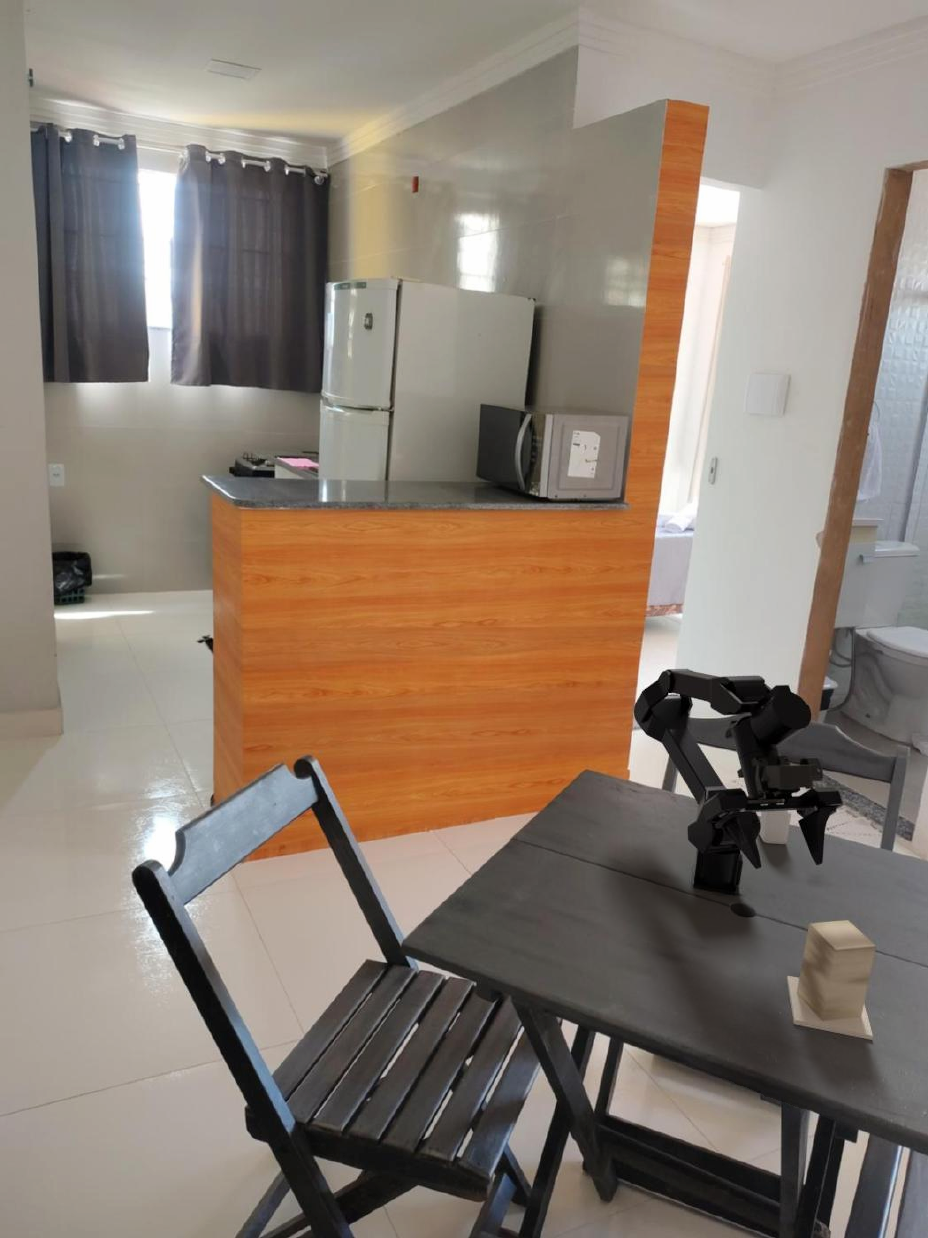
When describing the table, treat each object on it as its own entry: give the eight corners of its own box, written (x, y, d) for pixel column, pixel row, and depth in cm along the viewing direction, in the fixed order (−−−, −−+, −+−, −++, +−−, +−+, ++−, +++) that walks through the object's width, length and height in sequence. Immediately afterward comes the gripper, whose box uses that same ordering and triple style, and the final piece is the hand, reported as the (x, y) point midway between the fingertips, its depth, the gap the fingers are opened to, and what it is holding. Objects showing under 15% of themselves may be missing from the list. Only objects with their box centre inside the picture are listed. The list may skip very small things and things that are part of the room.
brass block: (796, 992, 119) (809, 923, 117) (834, 988, 120) (847, 920, 118) (822, 1021, 114) (835, 950, 111) (861, 1017, 115) (875, 946, 113)
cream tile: (793, 1024, 114) (794, 1019, 114) (787, 979, 123) (787, 975, 122) (872, 1040, 112) (872, 1036, 112) (859, 994, 121) (860, 990, 121)
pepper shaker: (787, 846, 159) (796, 794, 156) (763, 844, 159) (772, 793, 156) (779, 834, 163) (788, 784, 160) (756, 833, 163) (765, 782, 160)
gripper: (725, 737, 125) (755, 853, 117) (848, 734, 129) (884, 846, 121) (690, 766, 134) (716, 876, 127) (806, 762, 138) (837, 868, 131)
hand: (789, 866), depth 126 cm, fingers open, 9 cm apart
